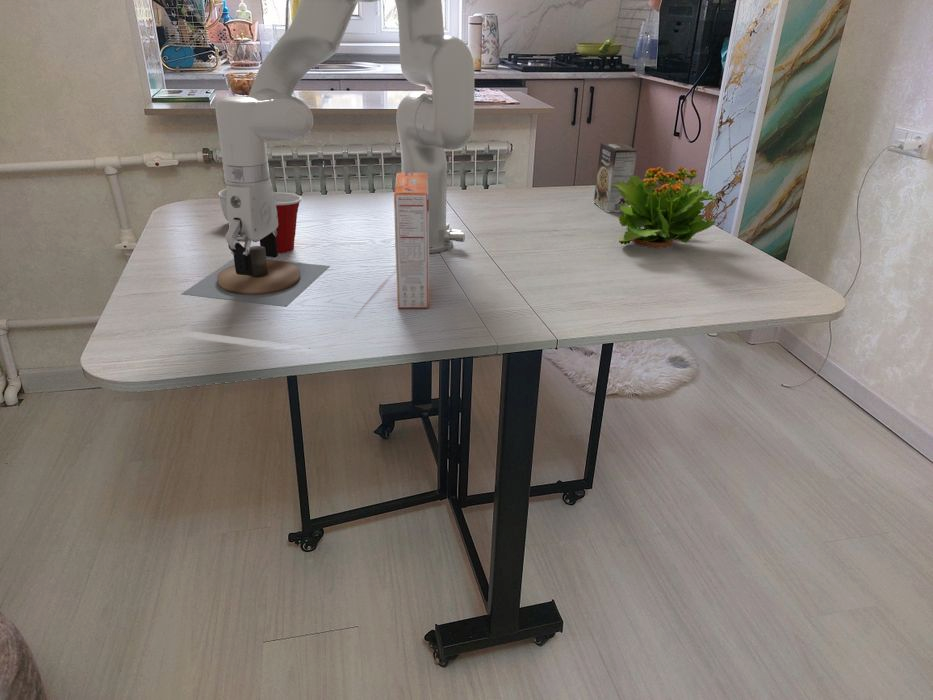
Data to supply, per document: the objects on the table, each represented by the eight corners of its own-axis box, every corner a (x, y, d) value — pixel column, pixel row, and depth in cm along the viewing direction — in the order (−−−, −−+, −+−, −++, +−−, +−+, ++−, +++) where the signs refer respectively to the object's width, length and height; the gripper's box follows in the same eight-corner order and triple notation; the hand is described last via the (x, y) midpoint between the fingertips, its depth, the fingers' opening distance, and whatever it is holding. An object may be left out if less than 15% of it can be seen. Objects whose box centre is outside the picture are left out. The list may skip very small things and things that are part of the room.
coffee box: (592, 203, 183) (599, 142, 175) (614, 202, 184) (622, 141, 177) (606, 212, 175) (614, 149, 168) (628, 211, 177) (638, 149, 169)
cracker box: (397, 279, 131) (395, 171, 121) (428, 279, 131) (429, 171, 121) (395, 309, 118) (392, 191, 109) (429, 309, 119) (430, 192, 109)
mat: (330, 269, 134) (330, 266, 134) (286, 310, 117) (286, 306, 116) (237, 259, 137) (237, 256, 137) (182, 297, 120) (181, 293, 120)
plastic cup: (316, 248, 145) (312, 193, 139) (284, 264, 136) (278, 205, 130) (276, 240, 149) (270, 185, 143) (242, 254, 140) (234, 197, 134)
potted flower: (583, 226, 164) (592, 153, 156) (670, 222, 170) (683, 151, 162) (630, 262, 143) (642, 180, 135) (727, 256, 149) (745, 176, 140)
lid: (313, 269, 132) (310, 239, 129) (279, 298, 119) (276, 267, 116) (242, 261, 134) (238, 232, 131) (201, 289, 121) (196, 258, 118)
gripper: (242, 186, 109) (254, 284, 117) (288, 163, 124) (296, 252, 132) (199, 182, 110) (214, 279, 118) (250, 160, 125) (260, 248, 133)
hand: (257, 265), depth 125 cm, fingers open, 9 cm apart
